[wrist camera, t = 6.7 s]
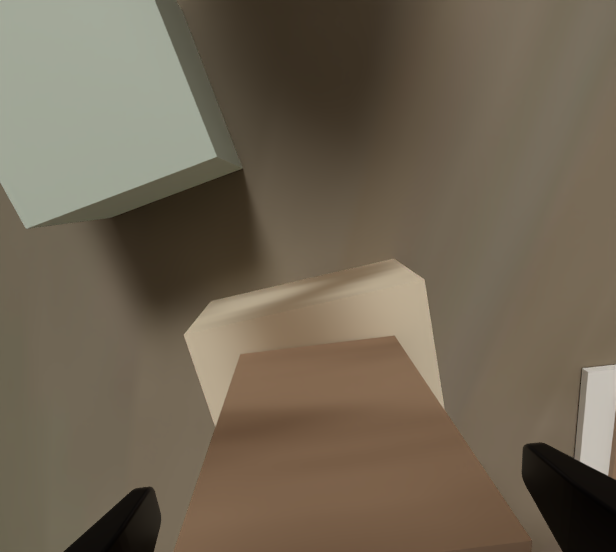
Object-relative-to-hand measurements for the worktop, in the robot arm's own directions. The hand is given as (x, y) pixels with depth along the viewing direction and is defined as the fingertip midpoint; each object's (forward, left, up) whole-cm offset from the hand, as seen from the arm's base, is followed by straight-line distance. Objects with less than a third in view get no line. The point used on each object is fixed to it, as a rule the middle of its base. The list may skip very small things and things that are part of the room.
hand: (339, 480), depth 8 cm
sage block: (+5, -9, -6) cm, 12 cm away
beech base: (0, 0, -6) cm, 6 cm away
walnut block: (0, 0, -2) cm, 3 cm away
